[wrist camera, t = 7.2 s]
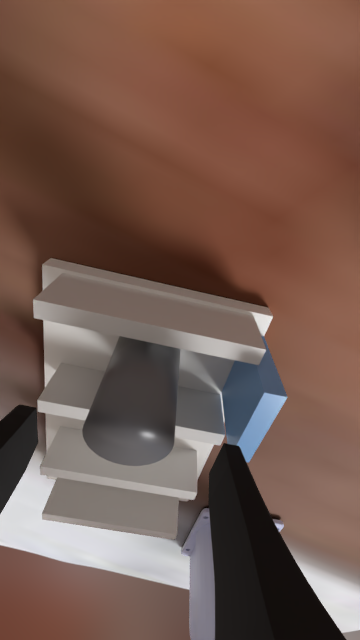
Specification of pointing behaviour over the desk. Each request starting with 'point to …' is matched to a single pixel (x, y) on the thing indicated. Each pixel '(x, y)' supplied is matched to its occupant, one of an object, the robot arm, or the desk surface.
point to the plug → (135, 404)
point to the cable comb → (192, 400)
